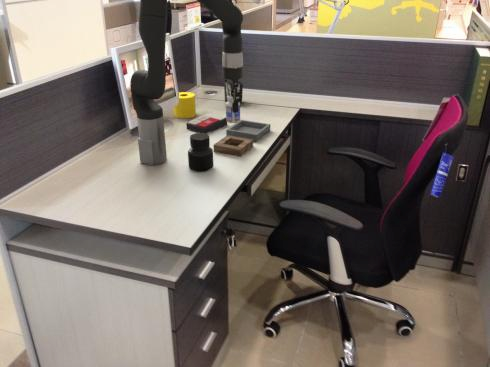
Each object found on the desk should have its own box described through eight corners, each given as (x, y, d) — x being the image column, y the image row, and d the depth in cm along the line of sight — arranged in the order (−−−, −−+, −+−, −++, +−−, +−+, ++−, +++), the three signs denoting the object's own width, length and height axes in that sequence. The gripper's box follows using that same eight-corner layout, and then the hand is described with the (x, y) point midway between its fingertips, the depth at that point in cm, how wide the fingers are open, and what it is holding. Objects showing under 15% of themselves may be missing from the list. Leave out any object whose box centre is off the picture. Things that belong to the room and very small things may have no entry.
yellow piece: (183, 110, 230) (181, 91, 226) (199, 113, 226) (198, 94, 221) (170, 115, 222) (168, 96, 218) (187, 119, 218) (185, 99, 214)
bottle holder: (240, 157, 179) (240, 149, 178) (213, 152, 184) (213, 144, 182) (253, 146, 188) (253, 139, 187) (227, 141, 193) (227, 135, 191)
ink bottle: (219, 165, 172) (218, 134, 167) (205, 174, 165) (203, 142, 160) (197, 160, 177) (195, 129, 171) (182, 168, 170) (180, 137, 164)
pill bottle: (239, 118, 183) (239, 93, 179) (240, 123, 178) (240, 98, 174) (225, 119, 183) (224, 94, 178) (226, 123, 178) (225, 98, 173)
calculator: (185, 121, 205) (208, 111, 215) (186, 130, 207) (209, 120, 217) (204, 127, 199) (227, 116, 209) (205, 136, 201) (227, 125, 211)
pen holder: (246, 101, 242) (246, 82, 238) (236, 106, 235) (236, 86, 231) (231, 98, 247) (230, 79, 242) (220, 103, 240) (220, 83, 235)
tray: (256, 141, 193) (256, 134, 191) (226, 136, 198) (226, 129, 197) (270, 130, 204) (270, 124, 203) (241, 126, 210) (241, 119, 208)
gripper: (217, 61, 176) (218, 105, 183) (228, 69, 164) (229, 116, 171) (236, 59, 178) (236, 103, 186) (248, 68, 166) (248, 114, 173)
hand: (232, 109), depth 178 cm, fingers closed on pill bottle, 5 cm apart
